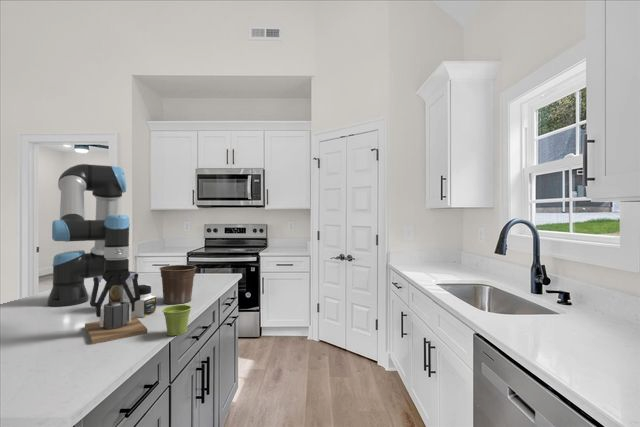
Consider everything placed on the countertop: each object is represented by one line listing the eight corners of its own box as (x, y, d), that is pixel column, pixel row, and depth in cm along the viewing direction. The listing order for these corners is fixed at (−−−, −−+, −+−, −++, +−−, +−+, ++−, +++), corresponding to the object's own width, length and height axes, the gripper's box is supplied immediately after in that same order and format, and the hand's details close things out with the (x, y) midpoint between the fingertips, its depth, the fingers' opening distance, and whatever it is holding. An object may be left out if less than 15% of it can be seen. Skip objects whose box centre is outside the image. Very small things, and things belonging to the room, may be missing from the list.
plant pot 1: (203, 300, 163) (203, 266, 163) (173, 307, 149) (173, 271, 149) (182, 295, 172) (182, 263, 172) (151, 302, 158) (152, 267, 158)
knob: (105, 328, 115) (105, 307, 115) (102, 322, 121) (102, 303, 121) (128, 324, 119) (129, 304, 119) (124, 319, 125) (124, 300, 125)
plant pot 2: (173, 340, 111) (173, 313, 111) (156, 334, 116) (156, 309, 116) (197, 332, 119) (197, 307, 119) (180, 327, 124) (180, 303, 124)
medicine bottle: (144, 317, 135) (144, 287, 135) (128, 316, 136) (129, 286, 136) (156, 312, 142) (156, 284, 142) (141, 311, 143) (141, 283, 143)
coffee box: (107, 309, 145) (108, 272, 145) (121, 306, 151) (122, 269, 151) (122, 312, 142) (123, 273, 142) (136, 308, 148) (136, 271, 148)
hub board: (84, 327, 122) (85, 301, 122) (134, 319, 133) (134, 294, 133) (91, 344, 107) (92, 314, 107) (147, 333, 117) (147, 305, 117)
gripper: (82, 262, 110) (81, 332, 110) (151, 257, 124) (150, 320, 124) (79, 259, 116) (78, 326, 116) (146, 255, 129) (145, 315, 129)
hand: (115, 323), depth 120 cm, fingers open, 8 cm apart
